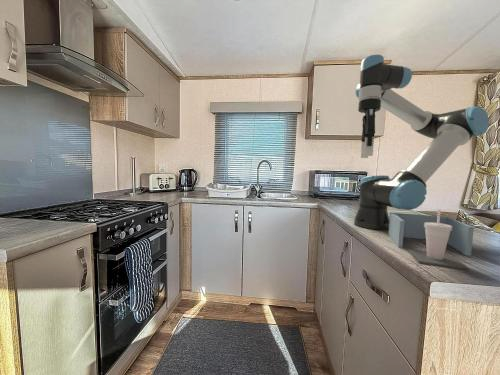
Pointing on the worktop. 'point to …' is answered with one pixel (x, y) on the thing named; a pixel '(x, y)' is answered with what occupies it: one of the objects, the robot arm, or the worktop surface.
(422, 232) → the open frame
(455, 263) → the mat
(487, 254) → the worktop surface
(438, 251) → the smoothie
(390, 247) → the worktop surface
